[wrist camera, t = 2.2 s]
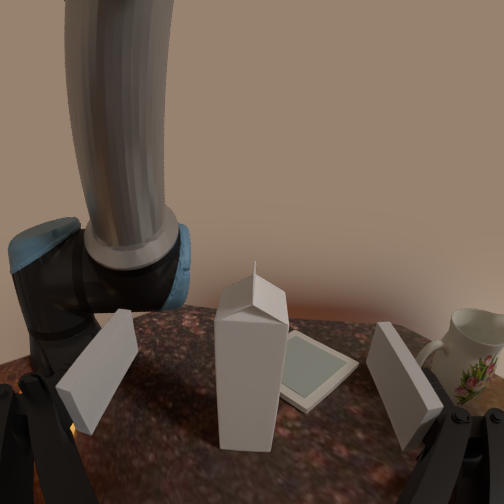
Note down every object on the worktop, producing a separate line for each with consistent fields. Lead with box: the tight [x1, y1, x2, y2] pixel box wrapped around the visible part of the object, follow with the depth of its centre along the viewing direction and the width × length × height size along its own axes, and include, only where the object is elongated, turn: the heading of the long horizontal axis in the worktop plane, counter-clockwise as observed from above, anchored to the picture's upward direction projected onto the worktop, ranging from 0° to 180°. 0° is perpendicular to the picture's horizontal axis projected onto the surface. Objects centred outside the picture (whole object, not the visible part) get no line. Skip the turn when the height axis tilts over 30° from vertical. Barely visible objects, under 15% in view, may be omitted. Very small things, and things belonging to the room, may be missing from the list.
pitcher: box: [415, 308, 504, 407], centre depth 33 cm, size 11×18×14 cm, turn 86°
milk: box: [214, 260, 289, 452], centre depth 28 cm, size 6×6×22 cm
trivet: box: [279, 330, 359, 414], centre depth 44 cm, size 14×14×1 cm
